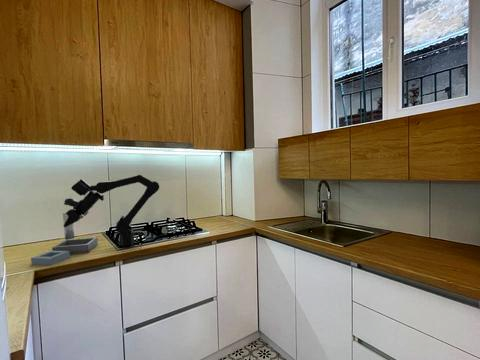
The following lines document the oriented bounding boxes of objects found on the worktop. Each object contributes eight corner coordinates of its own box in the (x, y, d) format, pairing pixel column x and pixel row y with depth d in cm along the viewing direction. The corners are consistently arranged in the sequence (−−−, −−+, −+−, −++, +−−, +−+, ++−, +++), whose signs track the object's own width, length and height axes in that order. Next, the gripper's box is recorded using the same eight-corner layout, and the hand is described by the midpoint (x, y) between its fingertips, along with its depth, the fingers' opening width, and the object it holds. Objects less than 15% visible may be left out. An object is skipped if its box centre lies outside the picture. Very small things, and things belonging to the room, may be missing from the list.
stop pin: (76, 237, 134) (73, 212, 133) (67, 239, 130) (65, 213, 129) (71, 237, 136) (69, 211, 135) (63, 239, 132) (61, 213, 131)
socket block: (69, 257, 125) (69, 251, 125) (51, 265, 115) (50, 258, 115) (51, 256, 127) (50, 250, 126) (31, 264, 117) (31, 257, 117)
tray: (98, 244, 145) (97, 237, 145) (88, 252, 131) (88, 244, 131) (65, 247, 142) (65, 239, 142) (52, 255, 128) (52, 247, 128)
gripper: (79, 190, 142) (57, 212, 139) (69, 193, 124) (43, 219, 121) (97, 203, 145) (76, 225, 142) (89, 208, 127) (65, 233, 124)
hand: (65, 225), depth 132 cm, fingers closed on stop pin, 4 cm apart
